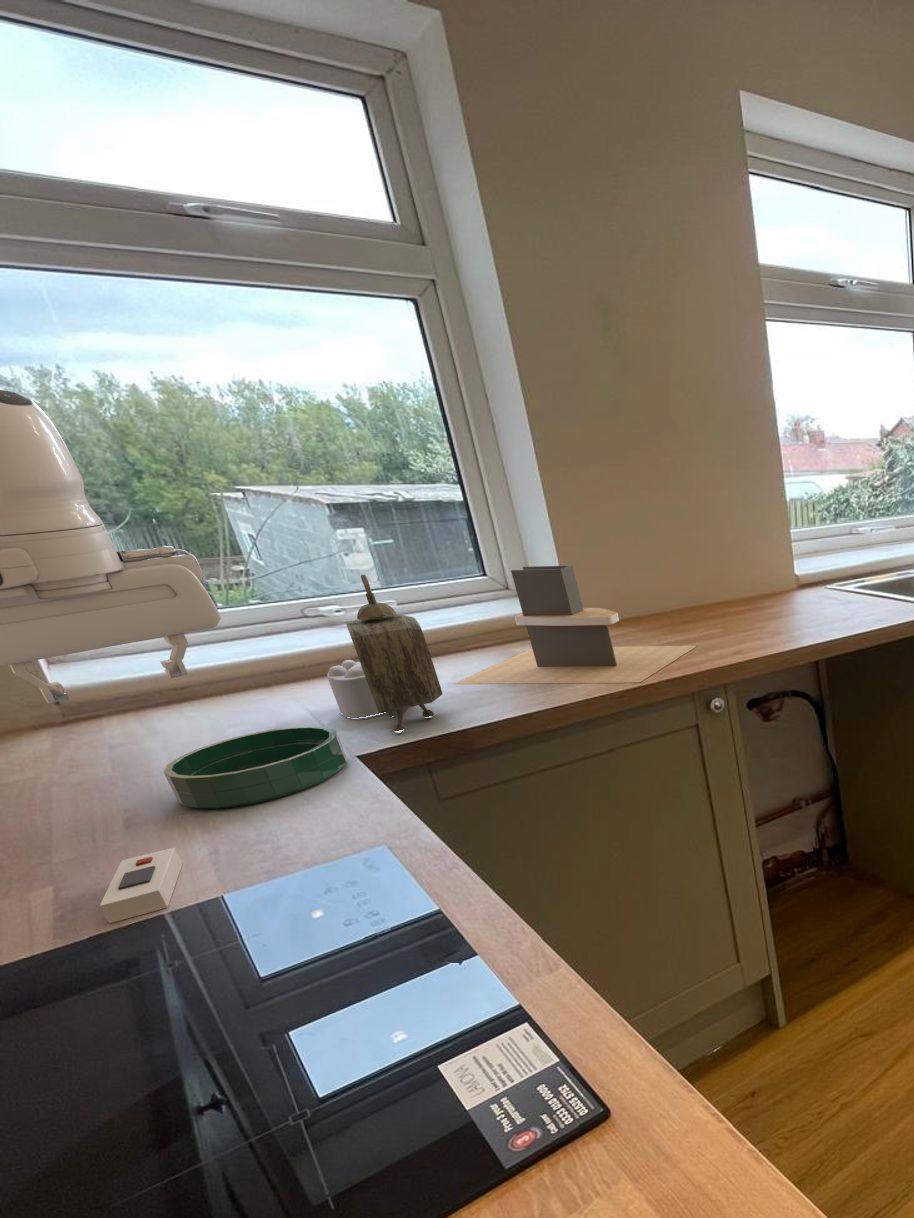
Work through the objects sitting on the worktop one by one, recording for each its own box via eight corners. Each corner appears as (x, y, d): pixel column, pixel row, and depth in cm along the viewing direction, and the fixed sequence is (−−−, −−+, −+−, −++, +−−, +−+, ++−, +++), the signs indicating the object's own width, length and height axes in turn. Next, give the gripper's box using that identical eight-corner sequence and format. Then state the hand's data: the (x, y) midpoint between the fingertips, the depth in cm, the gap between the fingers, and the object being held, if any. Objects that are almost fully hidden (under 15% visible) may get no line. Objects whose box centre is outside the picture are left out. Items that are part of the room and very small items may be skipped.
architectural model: (697, 645, 177) (679, 554, 169) (639, 682, 154) (616, 578, 146) (533, 647, 181) (508, 558, 173) (452, 684, 157) (420, 582, 150)
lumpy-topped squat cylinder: (351, 722, 139) (333, 674, 135) (332, 707, 147) (315, 661, 143) (421, 705, 146) (405, 659, 142) (399, 692, 154) (384, 648, 150)
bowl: (171, 825, 105) (154, 790, 103) (189, 780, 118) (174, 748, 116) (348, 783, 115) (336, 751, 113) (346, 746, 128) (335, 716, 127)
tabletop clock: (380, 717, 141) (328, 573, 131) (440, 705, 146) (395, 565, 136) (388, 740, 130) (332, 585, 120) (453, 725, 136) (405, 575, 126)
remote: (167, 907, 86) (157, 888, 85) (109, 923, 84) (97, 903, 83) (182, 863, 95) (173, 845, 94) (130, 876, 93) (120, 858, 92)
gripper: (182, 541, 92) (232, 658, 97) (-104, 575, 77) (-24, 712, 82) (198, 544, 89) (250, 665, 94) (-97, 580, 73) (-14, 722, 79)
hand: (120, 687), depth 88 cm, fingers open, 8 cm apart
